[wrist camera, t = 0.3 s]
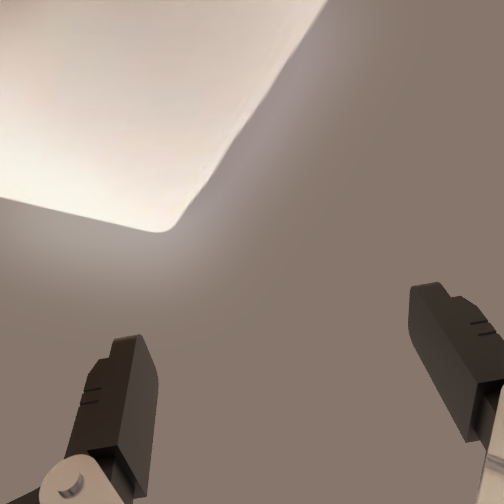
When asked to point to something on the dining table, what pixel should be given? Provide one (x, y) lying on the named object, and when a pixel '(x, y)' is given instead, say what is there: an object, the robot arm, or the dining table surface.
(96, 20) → the dining table surface
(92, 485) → the robot arm
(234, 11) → the dining table surface
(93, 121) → the dining table surface
